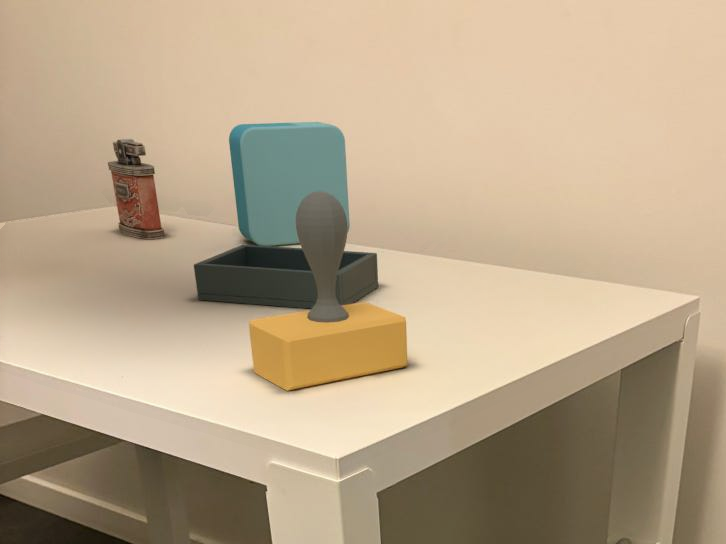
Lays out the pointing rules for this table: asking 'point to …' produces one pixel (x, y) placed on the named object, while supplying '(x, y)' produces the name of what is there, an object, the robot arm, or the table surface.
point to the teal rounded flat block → (284, 175)
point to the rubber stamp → (326, 316)
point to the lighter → (135, 191)
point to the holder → (280, 277)
